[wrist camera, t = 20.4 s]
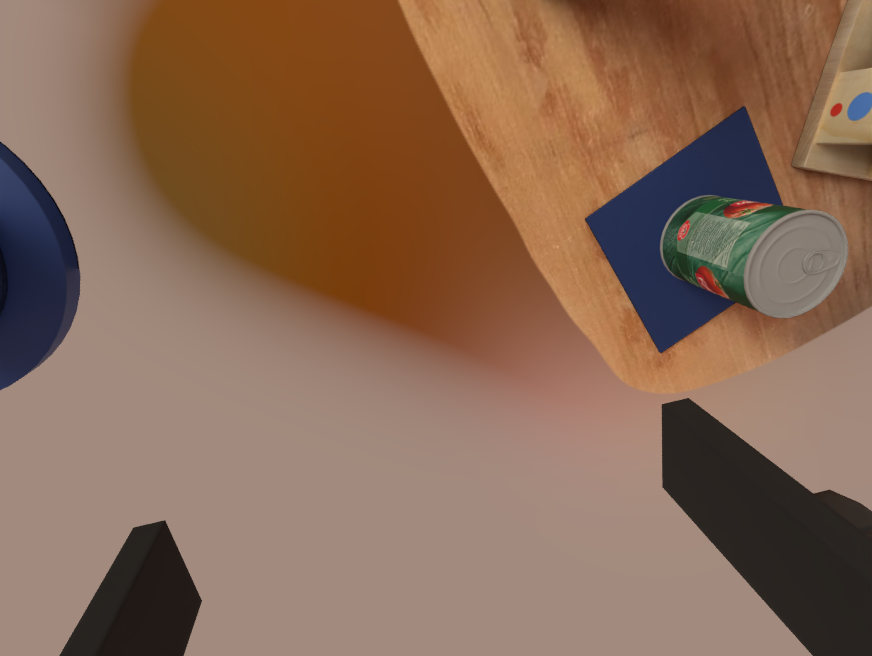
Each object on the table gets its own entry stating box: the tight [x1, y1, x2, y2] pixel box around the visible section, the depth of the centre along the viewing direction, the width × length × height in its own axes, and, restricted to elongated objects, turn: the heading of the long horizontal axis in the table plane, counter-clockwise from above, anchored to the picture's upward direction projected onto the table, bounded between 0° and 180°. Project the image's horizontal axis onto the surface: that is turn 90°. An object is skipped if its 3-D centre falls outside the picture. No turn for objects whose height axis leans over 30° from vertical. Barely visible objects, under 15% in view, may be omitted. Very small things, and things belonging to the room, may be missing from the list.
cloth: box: [585, 107, 783, 353], centre depth 47 cm, size 16×16×1 cm
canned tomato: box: [660, 195, 848, 318], centre depth 41 cm, size 8×8×11 cm
